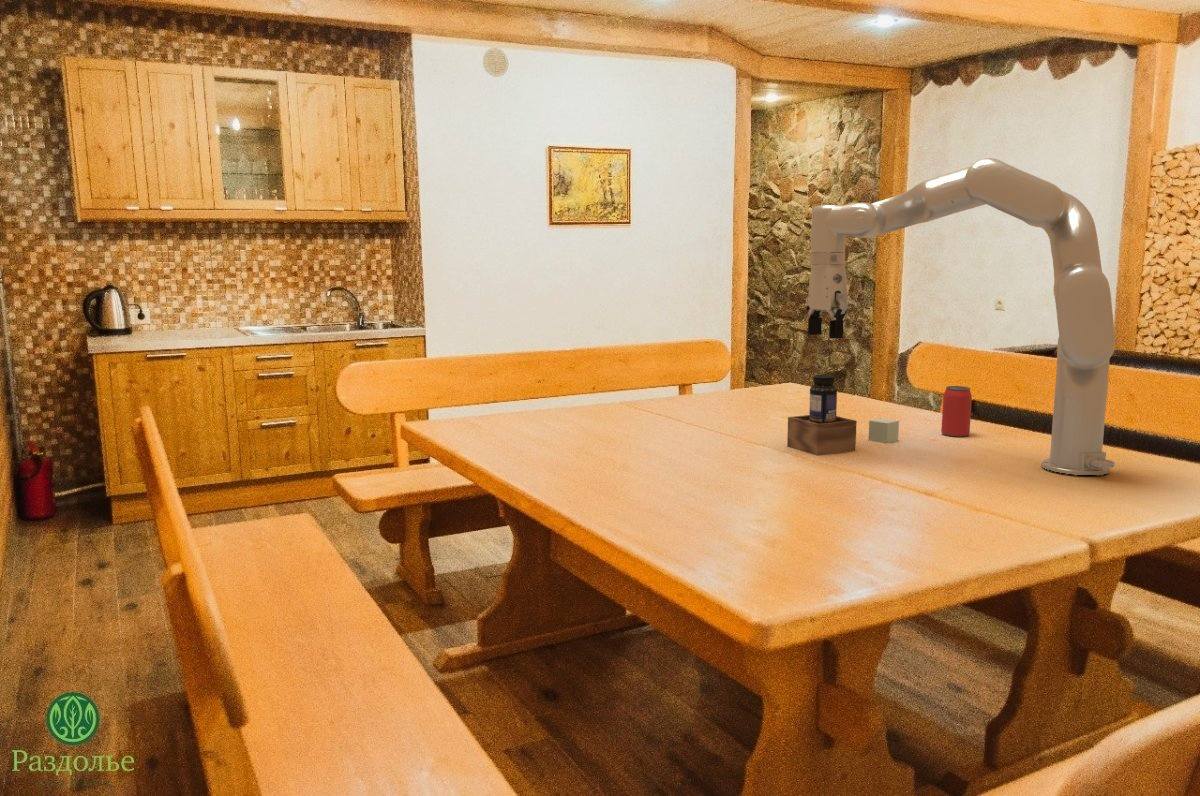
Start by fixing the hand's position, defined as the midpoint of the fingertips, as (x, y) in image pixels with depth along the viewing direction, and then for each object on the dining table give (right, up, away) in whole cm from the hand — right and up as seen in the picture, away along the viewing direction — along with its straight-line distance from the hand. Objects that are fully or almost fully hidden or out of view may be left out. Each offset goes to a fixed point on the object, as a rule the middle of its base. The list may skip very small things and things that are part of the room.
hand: (825, 336), depth 205 cm
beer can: (+37, -24, +19) cm, 48 cm away
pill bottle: (0, -20, +3) cm, 20 cm away
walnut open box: (0, -26, +4) cm, 26 cm away
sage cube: (+17, -25, +13) cm, 33 cm away
